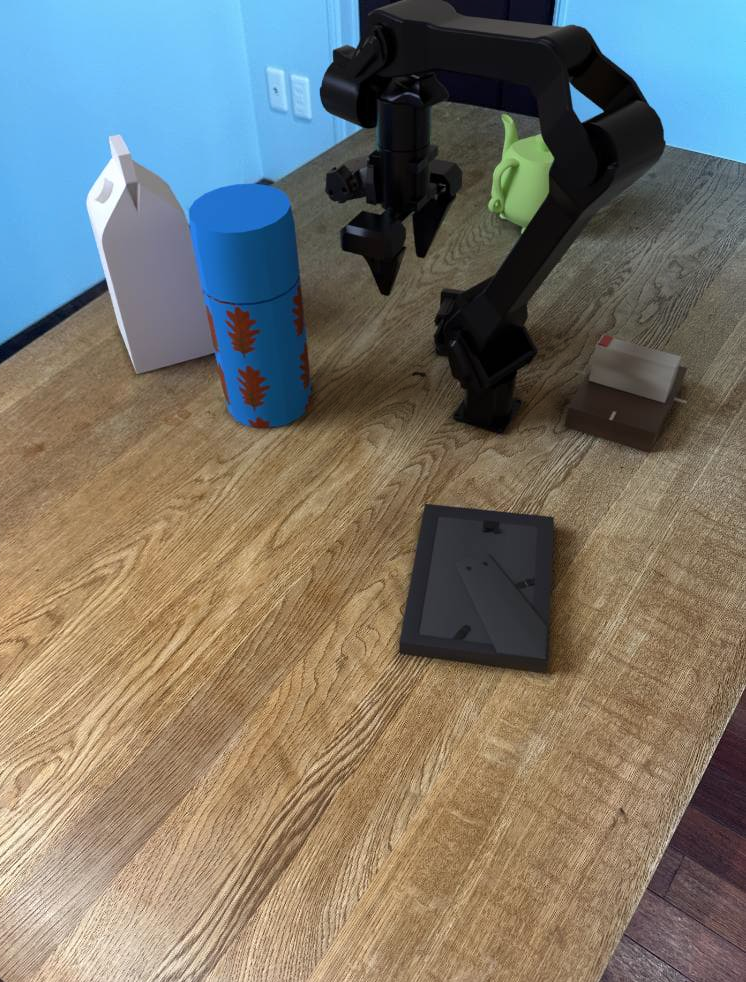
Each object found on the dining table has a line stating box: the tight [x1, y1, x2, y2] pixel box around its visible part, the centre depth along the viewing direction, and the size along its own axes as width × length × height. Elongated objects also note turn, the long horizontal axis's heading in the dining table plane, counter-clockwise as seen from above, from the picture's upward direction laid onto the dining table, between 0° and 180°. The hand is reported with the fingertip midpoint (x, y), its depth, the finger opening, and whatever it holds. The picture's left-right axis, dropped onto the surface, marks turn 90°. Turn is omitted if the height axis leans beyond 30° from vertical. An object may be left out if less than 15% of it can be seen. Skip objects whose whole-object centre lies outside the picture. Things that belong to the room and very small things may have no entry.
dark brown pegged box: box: [564, 365, 688, 453], centre depth 96 cm, size 13×13×3 cm
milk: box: [85, 134, 215, 375], centre depth 102 cm, size 12×12×26 cm
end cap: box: [432, 287, 465, 357], centre depth 104 cm, size 10×7×7 cm
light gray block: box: [589, 334, 682, 403], centre depth 93 cm, size 9×2×5 cm, turn 59°
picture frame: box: [398, 503, 555, 674], centre depth 79 cm, size 13×2×18 cm
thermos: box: [188, 183, 312, 429], centre depth 92 cm, size 11×11×25 cm
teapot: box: [487, 113, 554, 234], centre depth 123 cm, size 16×14×13 cm
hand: (403, 275), depth 96 cm, fingers open, 9 cm apart
